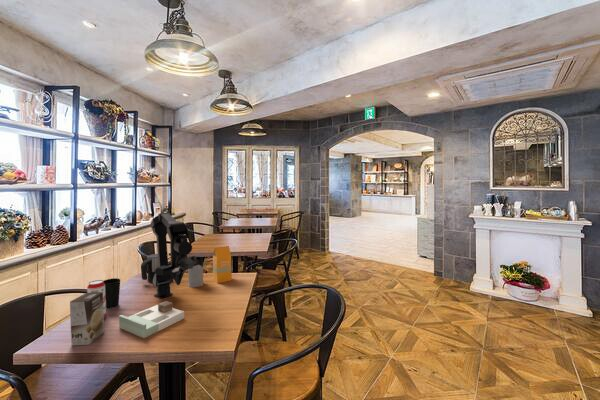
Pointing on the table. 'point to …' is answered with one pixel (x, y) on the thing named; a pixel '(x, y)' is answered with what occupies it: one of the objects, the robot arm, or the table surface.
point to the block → (165, 306)
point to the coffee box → (86, 318)
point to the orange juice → (222, 264)
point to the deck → (149, 321)
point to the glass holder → (196, 274)
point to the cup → (112, 292)
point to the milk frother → (149, 267)
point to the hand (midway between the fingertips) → (178, 284)
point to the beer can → (98, 287)
